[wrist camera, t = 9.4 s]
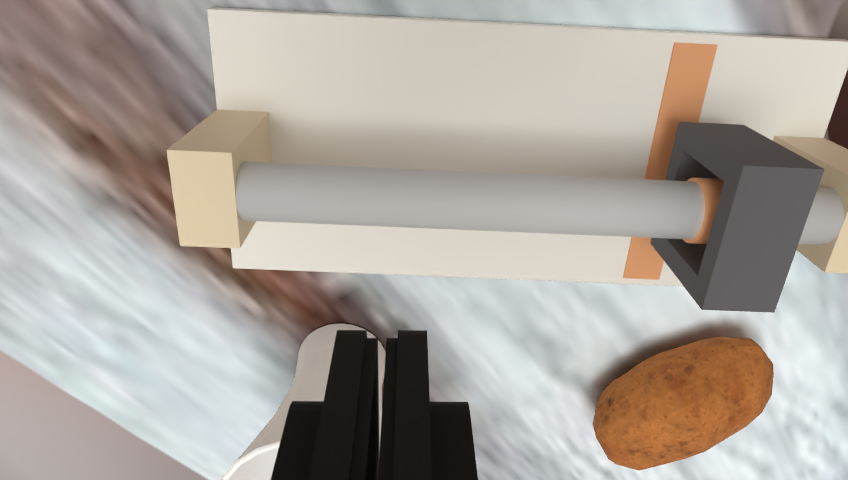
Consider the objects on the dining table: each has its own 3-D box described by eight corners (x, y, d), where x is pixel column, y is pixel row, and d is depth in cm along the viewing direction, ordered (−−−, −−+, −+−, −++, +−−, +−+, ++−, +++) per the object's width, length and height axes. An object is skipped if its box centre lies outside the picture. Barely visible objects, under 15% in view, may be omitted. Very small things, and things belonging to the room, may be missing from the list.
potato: (567, 367, 45) (591, 436, 39) (737, 300, 43) (793, 363, 36) (599, 432, 48) (627, 507, 42) (761, 374, 46) (817, 444, 39)
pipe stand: (213, 7, 34) (147, 26, 26) (843, 39, 35) (974, 67, 27) (238, 259, 41) (191, 338, 33) (762, 280, 42) (846, 363, 34)
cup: (371, 433, 48) (354, 600, 36) (248, 379, 45) (185, 538, 33) (440, 338, 44) (448, 489, 32) (310, 274, 42) (264, 409, 29)
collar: (678, 121, 33) (743, 165, 26) (743, 124, 33) (824, 169, 27) (650, 243, 36) (701, 309, 30) (709, 245, 36) (774, 312, 30)
